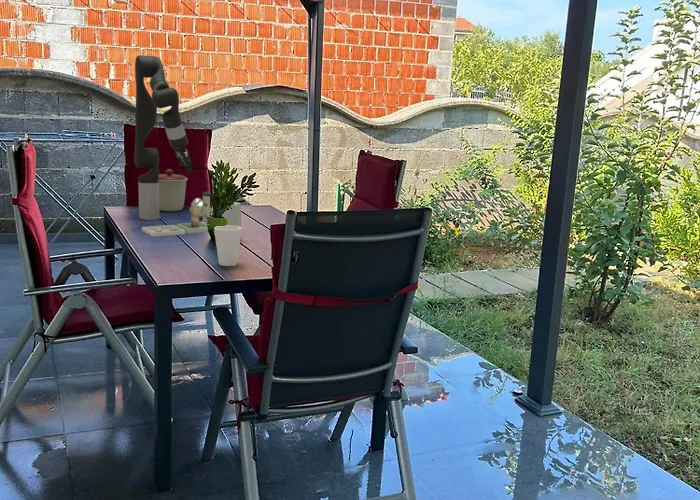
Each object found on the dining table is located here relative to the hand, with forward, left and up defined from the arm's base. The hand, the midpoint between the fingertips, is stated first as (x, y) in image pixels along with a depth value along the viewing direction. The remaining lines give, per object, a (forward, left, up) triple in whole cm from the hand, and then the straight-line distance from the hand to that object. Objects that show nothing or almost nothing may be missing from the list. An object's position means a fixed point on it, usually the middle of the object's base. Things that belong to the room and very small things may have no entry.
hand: (186, 168), depth 286 cm
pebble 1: (+11, -17, -24) cm, 31 cm away
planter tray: (+7, +1, -27) cm, 28 cm away
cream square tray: (+7, -13, -27) cm, 31 cm away
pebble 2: (+11, -10, -24) cm, 29 cm away
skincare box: (+28, +7, -27) cm, 40 cm away
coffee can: (-12, +17, -27) cm, 34 cm away
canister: (-52, +10, -27) cm, 59 cm away
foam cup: (+65, -10, -27) cm, 71 cm away
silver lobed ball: (-24, +15, -27) cm, 39 cm away
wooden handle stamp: (+7, +1, -26) cm, 27 cm away
